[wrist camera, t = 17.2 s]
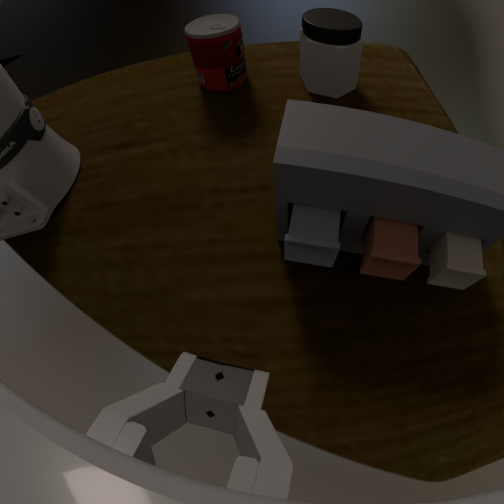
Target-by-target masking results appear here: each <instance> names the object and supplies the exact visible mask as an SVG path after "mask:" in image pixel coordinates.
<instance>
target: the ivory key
mask: <svg viewBox="0 0 504 504" xmlns="http://www.w3.org/2000/svg"><path fill="white" fill-rule="evenodd" d="M485 276H486V270H483V258H482V246H481V239H480V238H475V237H471V236H467V235H462V234H458V233H454V232H449V231H445V230H444V232H443V233H442V234H441V235H440V236H439V237H438V238H437V239H436V240H435V241H434V242H433V243H432V244H431V245H430V277H429V278H428V279H427V284H431V285H437V286H443V287H449V288H456V289H462V290H464V289H465V288H467V287H469V286H470V285H472V284H474V283H475V282H477V281H478V280H480V279H482V278H483V277H485Z"/></svg>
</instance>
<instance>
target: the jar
mask: <svg viewBox="0 0 504 504" xmlns="http://www.w3.org/2000/svg"><path fill="white" fill-rule="evenodd" d="M361 30H362V22H361V20H360V19H359V18H358V17H357V16H355V15H353V14H351V13H349V12H346V11H343V10H338V9H333V8H316V9H311V10H308V11H306V12H305V13H304V14H303V15H302V28H300V76H301V79H302V81H303V83H304V85H305V87H306V89H307V91H308V92H310V93H314V94H319V95H323V96H327V97H332V98H336V99H338V98H340V97H341V96H343V95H345V94H347V93H349V92H350V91H352V90H354V89H356V85H357V79H358V73H359V66H360V60H361V54H362V47H363V40H362V38H361Z"/></svg>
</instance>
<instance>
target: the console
mask: <svg viewBox="0 0 504 504" xmlns="http://www.w3.org/2000/svg"><path fill="white" fill-rule="evenodd" d="M273 171H274V186H275V202H276V219H277V237H278V240H279V241H284V239H285V234H288V233H289V227H290V222H291V216H292V215H290V203H298V204H305V205H311V206H317V207H324V208H330V209H336V210H342V211H344V212H343V215H342V218H341V221H340V225H339V235H338V243H340V249H339V250H340V251H346V252H352V253H358V254H364V241H365V227H366V225H367V222H368V220H369V218H370V216H375V217H381V218H386V219H391V220H396V221H402V222H407V223H412V224H416V225H418V258H421V265H427V266H430V245H431V244H432V243H433V242H434V241H435V240H436V239H437V238H438V237H439V236H440V235H441V234H442V233H443V232H444V230H445V231H449V232H454V233H458V234H462V235H467V236H471V237H475V238H480V239H481V246H482V253H483V252H484V251H485V250H486V249H488V248H489V247H490V246H491V245H493V244H494V243H495V242H496V241H498V240H499V239H500V238H501V237H502V236H504V150H502V149H499V148H496V147H494V146H491V145H488V144H485V143H483V142H480V141H477V140H474V139H471V138H468V137H465V136H462V135H459V134H456V133H453V132H450V131H446V130H443V129H440V128H436V127H433V126H429V125H425V124H422V123H418V122H414V121H410V120H406V119H402V118H397V117H393V116H389V115H384V114H379V113H374V112H369V111H364V110H359V109H353V108H347V107H341V106H335V105H328V104H321V103H314V102H306V101H297V100H287V104H286V108H285V113H284V117H283V121H282V126H281V130H280V134H279V139H278V143H277V147H276V152H275V156H274V160H273Z"/></svg>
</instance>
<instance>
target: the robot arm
mask: <svg viewBox="0 0 504 504" xmlns="http://www.w3.org/2000/svg"><path fill="white" fill-rule="evenodd" d="M2 1H3V0H0V3H1V2H2ZM79 166H80V153H79V151H78V149H77V148H76V147H75V146H73V145H72V144H70V143H68V142H67V141H65V140H64V139H62V138H61V137H60V136H59V135H58V134H56V133H55V132H54V131H53V130H52V129H51V128H50V127H49V126H48V125H47V124H46V122H45V120H44V118H43V117H42V115H41V114H40V112H39V111H38V110H37V108H36V107H35V106H34V104H33V103H32V102H31V101H30V99H29V98H28V97H27V96H26V95H24V94H21V92H20V91H19V89H18V88H17V87H16V85H15V84H14V82H13V81H12V80H11V78H10V77H9V75H8V74H7V72H6V71H5V70H4V68H3V67H2V65H1V64H0V241H1V240H4V239H8V238H11V237H15V236H18V235H22V234H25V233H29V232H32V231H36V230H40V229H42V228H43V227H44V226H45V225H46V224H47V222H48V220H49V218H50V216H51V214H52V212H53V210H54V208H55V207H56V206H57V204H58V203H59V202H60V201H61V200H62V199H63V197H64V196H65V195H66V193H67V192H68V191H69V189H70V187H71V186H72V184H73V182H74V180H75V178H76V176H77V173H78V170H79ZM268 379H269V373H268V372H263V371H258V370H253V369H249V368H244V367H239V366H235V365H231V364H225V363H222V362H218V361H214V360H211V359H207V358H204V357H200V356H196V355H193V354H190V353H186V352H183V353H182V354H181V355H180V357H179V359H178V360H177V362H176V364H175V365H174V367H173V369H172V371H171V372H170V374H169V376H168V378H167V379H166V381H165V383H164V384H163V383H158V384H156V385H154V386H152V387H149V388H147V389H145V390H143V391H141V392H138V393H136V394H134V395H132V396H130V397H128V398H125V399H123V400H121V401H118V402H116V403H114V404H112V405H109V406H107V407H105V408H103V410H102V411H101V413H100V414H99V416H98V417H97V419H96V420H95V421H94V423H93V424H92V426H91V427H90V429H89V430H88V432H87V433H86V434H84V433H82V432H80V431H78V430H76V429H74V428H72V427H71V426H69V425H67V424H65V423H63V422H62V421H60V420H58V419H56V418H55V417H53V416H52V415H50V414H48V413H47V412H45V411H44V410H42V409H41V408H39V407H37V406H36V405H34V404H33V403H31V402H30V401H28V400H27V399H25V398H24V397H22V396H21V395H20V394H18V393H17V392H15V391H14V390H13V389H11V388H10V387H9V386H7V385H6V384H5V383H3V382H2V381H1V380H0V504H324V503H313V502H303V501H295V500H287V498H288V492H289V486H290V480H291V474H292V468H293V463H292V462H291V460H290V458H289V456H288V454H287V452H286V450H285V449H284V446H283V444H282V443H281V441H280V439H279V437H278V435H277V433H276V431H275V429H274V427H273V425H272V423H271V421H270V419H269V417H268V415H267V413H266V411H264V410H261V408H262V404H263V400H264V396H265V391H266V387H267V383H268ZM186 422H188V423H192V424H195V425H199V426H203V427H207V428H211V429H214V430H217V431H221V432H224V433H228V434H232V435H234V438H235V441H236V444H237V447H238V450H239V453H240V457H238V458H236V461H235V464H234V467H233V470H232V473H231V476H230V479H229V482H228V485H227V488H225V487H221V486H218V485H214V484H210V483H206V482H202V481H199V480H196V479H193V478H189V477H186V476H183V475H180V474H177V473H174V472H171V471H168V470H166V469H163V468H160V467H157V466H155V464H156V462H155V459H154V456H153V452H152V449H151V446H152V445H154V444H155V443H157V442H159V441H160V440H161V439H163V438H165V437H166V436H168V435H169V434H171V433H172V432H174V431H175V430H177V429H178V428H180V427H181V426H183V425H184V424H185V423H186ZM411 504H504V488H501V489H497V490H493V491H488V492H484V493H480V494H475V495H470V496H465V497H459V498H453V499H447V500H440V501H432V502H424V503H423V502H422V503H411Z"/></svg>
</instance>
